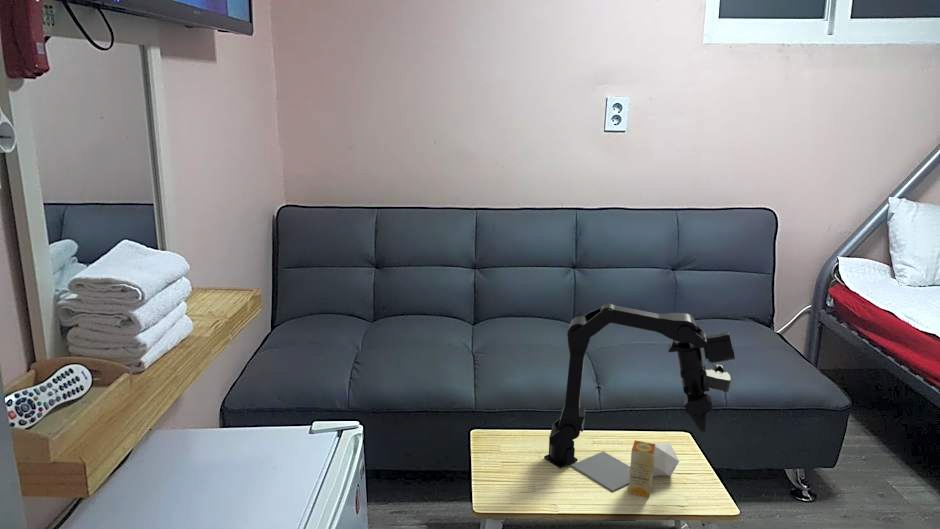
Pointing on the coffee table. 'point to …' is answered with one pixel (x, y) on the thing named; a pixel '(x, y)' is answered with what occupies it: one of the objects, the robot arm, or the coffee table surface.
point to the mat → (605, 470)
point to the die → (664, 460)
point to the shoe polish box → (641, 468)
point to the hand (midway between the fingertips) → (701, 422)
